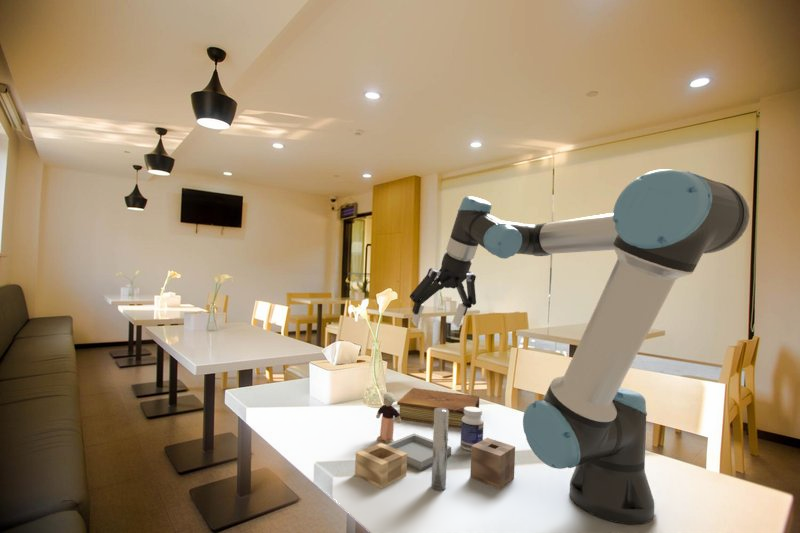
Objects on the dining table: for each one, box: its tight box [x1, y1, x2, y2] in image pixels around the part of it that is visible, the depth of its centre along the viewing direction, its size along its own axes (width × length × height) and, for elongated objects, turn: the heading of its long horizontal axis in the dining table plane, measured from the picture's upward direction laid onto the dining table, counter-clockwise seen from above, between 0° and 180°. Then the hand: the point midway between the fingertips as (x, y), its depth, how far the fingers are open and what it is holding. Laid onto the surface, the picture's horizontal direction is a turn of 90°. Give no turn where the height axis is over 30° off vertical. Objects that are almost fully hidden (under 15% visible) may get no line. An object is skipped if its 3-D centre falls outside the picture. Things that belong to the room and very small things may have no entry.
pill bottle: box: [460, 407, 484, 452], centre depth 108 cm, size 6×6×10 cm
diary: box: [396, 387, 480, 429], centre depth 133 cm, size 23×19×6 cm
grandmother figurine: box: [375, 392, 402, 444], centre depth 110 cm, size 8×4×13 cm, turn 70°
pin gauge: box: [430, 408, 449, 492], centre depth 86 cm, size 3×3×16 cm
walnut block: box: [469, 437, 516, 490], centre depth 91 cm, size 7×7×7 cm
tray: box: [386, 433, 452, 472], centre depth 101 cm, size 12×12×2 cm
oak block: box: [354, 442, 408, 489], centre depth 90 cm, size 8×8×5 cm
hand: (435, 324), depth 115 cm, fingers open, 13 cm apart
